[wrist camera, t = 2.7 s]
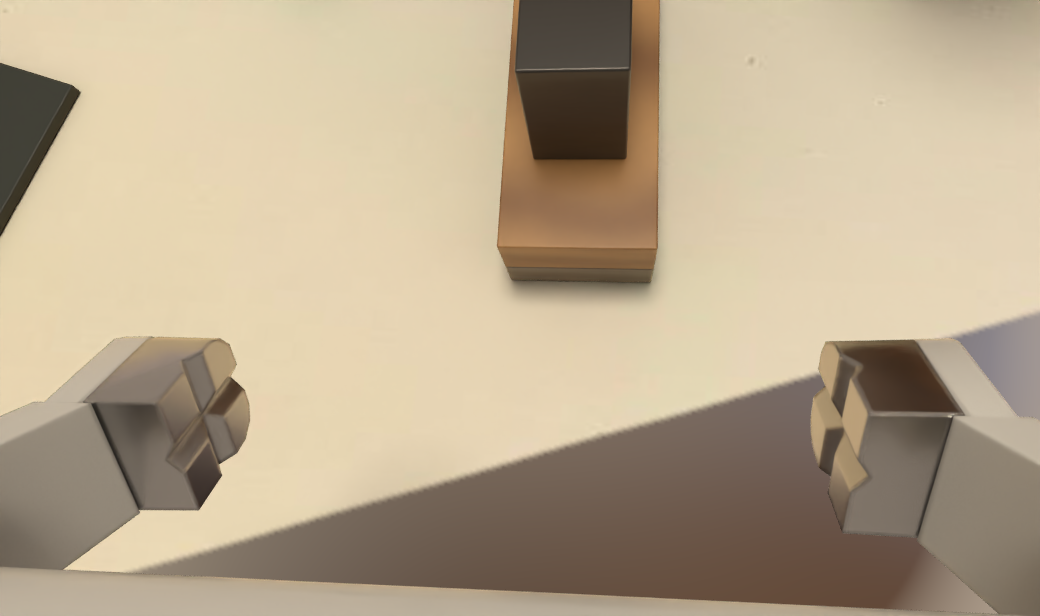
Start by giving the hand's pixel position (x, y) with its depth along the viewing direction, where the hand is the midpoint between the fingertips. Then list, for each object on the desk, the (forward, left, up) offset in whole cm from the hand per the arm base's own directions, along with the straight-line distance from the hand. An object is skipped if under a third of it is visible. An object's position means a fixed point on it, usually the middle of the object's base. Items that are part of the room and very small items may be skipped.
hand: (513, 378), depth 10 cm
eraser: (+11, +3, -15) cm, 19 cm away
